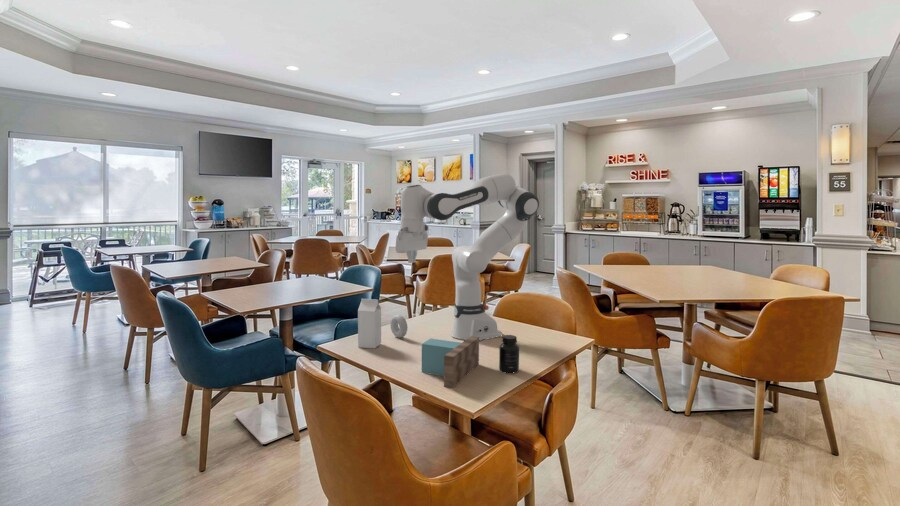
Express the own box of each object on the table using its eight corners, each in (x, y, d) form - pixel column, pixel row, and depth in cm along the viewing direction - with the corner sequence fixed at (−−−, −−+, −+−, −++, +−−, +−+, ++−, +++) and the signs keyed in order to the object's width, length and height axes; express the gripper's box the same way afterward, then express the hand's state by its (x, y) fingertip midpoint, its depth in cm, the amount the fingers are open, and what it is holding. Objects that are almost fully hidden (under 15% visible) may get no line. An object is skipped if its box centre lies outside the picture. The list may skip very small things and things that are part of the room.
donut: (388, 335, 202) (388, 313, 201) (395, 334, 204) (395, 312, 203) (402, 341, 194) (402, 317, 193) (409, 339, 197) (409, 316, 196)
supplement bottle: (497, 367, 165) (498, 333, 163) (516, 366, 165) (517, 333, 164) (501, 374, 158) (501, 339, 156) (520, 373, 158) (521, 339, 157)
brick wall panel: (470, 363, 168) (471, 336, 167) (478, 364, 167) (479, 337, 166) (443, 386, 146) (444, 355, 145) (452, 388, 145) (453, 356, 144)
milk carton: (375, 348, 183) (374, 301, 181) (358, 347, 185) (357, 300, 183) (381, 343, 190) (381, 297, 188) (364, 342, 192) (364, 297, 190)
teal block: (421, 372, 159) (421, 343, 158) (430, 365, 165) (430, 338, 164) (454, 377, 154) (454, 348, 153) (461, 371, 160) (462, 342, 159)
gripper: (406, 228, 170) (406, 266, 171) (430, 226, 189) (430, 260, 190) (391, 228, 172) (391, 265, 174) (416, 225, 191) (416, 259, 193)
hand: (411, 262), depth 182 cm, fingers closed
